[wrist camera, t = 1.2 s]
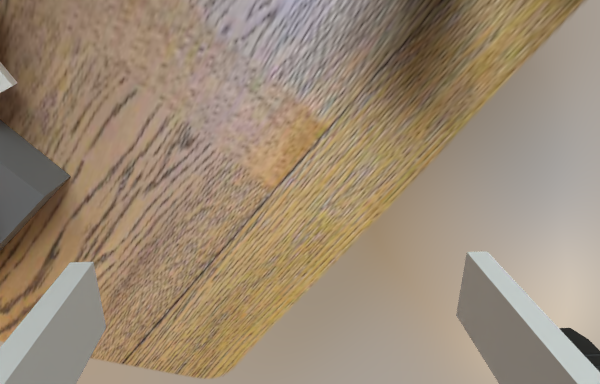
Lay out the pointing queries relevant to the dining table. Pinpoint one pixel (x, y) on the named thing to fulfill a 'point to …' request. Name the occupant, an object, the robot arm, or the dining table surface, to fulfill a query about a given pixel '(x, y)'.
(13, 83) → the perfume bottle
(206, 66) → the dining table surface
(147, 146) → the dining table surface
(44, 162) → the socket board
